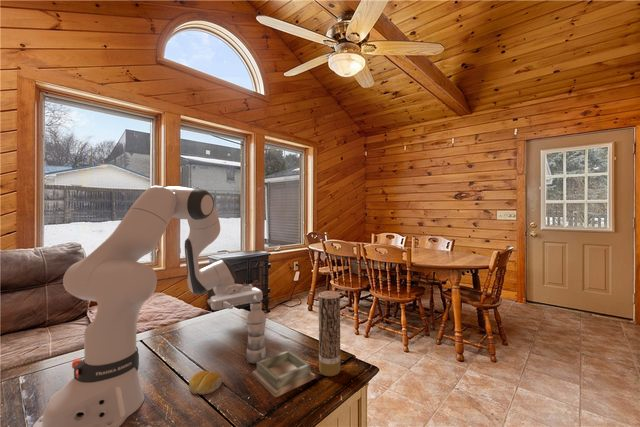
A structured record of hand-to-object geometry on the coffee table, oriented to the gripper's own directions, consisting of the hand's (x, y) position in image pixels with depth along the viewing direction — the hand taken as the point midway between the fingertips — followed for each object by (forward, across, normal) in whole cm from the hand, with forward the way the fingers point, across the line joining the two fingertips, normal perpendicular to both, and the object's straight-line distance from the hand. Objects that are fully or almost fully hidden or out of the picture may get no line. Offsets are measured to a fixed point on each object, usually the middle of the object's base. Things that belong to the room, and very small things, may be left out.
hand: (243, 304), depth 109 cm
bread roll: (+17, -18, +16) cm, 30 cm away
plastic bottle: (+12, 0, +16) cm, 21 cm away
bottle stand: (+26, +3, +16) cm, 31 cm away
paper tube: (+32, +16, +16) cm, 40 cm away
